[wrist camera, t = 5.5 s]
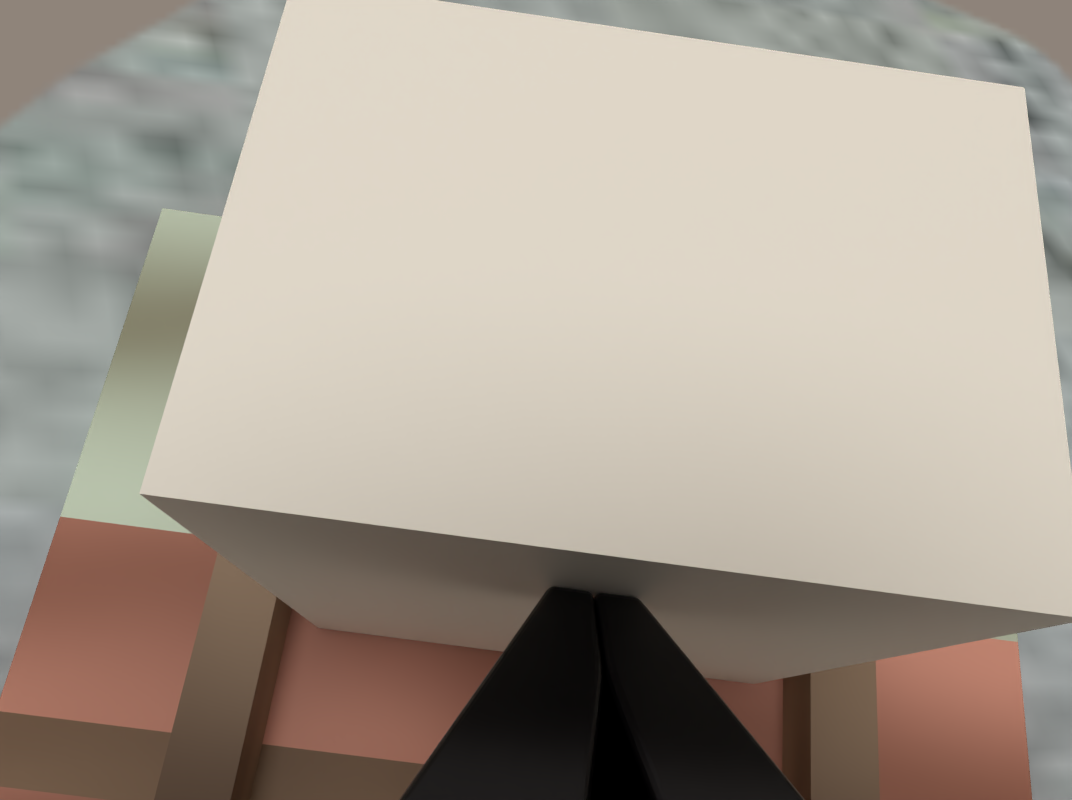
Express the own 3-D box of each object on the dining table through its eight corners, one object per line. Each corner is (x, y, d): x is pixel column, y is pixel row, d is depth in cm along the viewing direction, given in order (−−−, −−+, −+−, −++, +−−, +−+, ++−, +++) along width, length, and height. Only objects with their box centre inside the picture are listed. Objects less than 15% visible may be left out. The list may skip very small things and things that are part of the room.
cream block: (753, 683, 14) (1089, 619, 6) (318, 627, 14) (140, 493, 6) (759, 396, 16) (1023, 87, 8) (376, 344, 15) (292, -21, 8)
